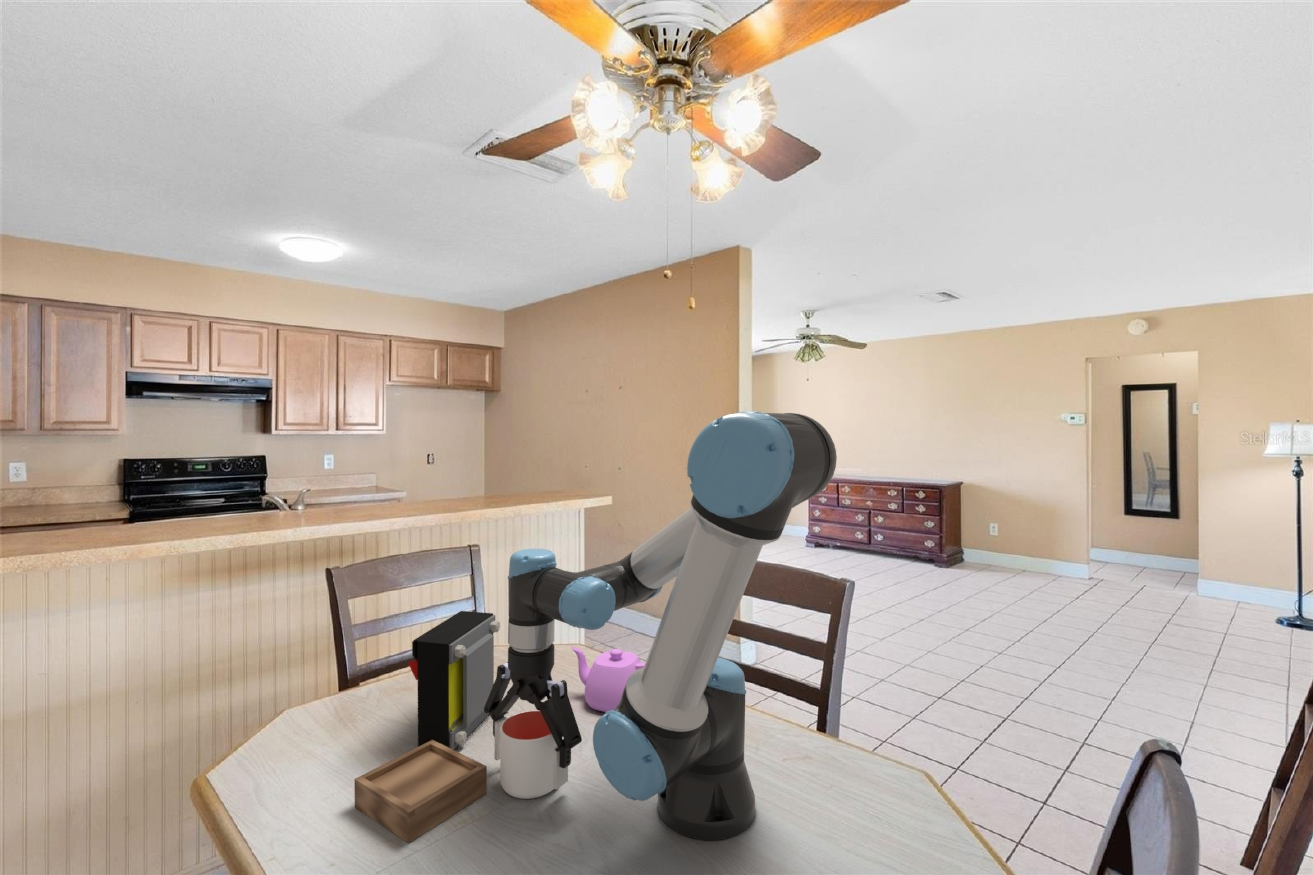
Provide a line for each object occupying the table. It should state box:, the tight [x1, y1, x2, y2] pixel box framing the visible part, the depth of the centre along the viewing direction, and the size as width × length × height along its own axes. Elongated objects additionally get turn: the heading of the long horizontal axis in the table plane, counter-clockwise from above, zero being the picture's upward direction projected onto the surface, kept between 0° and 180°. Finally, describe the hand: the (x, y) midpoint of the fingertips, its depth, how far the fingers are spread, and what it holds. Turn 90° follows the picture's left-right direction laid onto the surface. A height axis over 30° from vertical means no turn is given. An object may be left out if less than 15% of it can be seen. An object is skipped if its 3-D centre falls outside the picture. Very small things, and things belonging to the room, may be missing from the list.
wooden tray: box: [354, 740, 488, 844], centre depth 96 cm, size 14×14×4 cm
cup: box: [499, 710, 557, 800], centre depth 101 cm, size 10×10×10 cm
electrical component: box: [408, 610, 501, 750], centre depth 119 cm, size 18×10×20 cm, turn 168°
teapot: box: [570, 646, 646, 713], centre depth 130 cm, size 13×20×11 cm, turn 73°
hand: (530, 770), depth 101 cm, fingers open, 13 cm apart
